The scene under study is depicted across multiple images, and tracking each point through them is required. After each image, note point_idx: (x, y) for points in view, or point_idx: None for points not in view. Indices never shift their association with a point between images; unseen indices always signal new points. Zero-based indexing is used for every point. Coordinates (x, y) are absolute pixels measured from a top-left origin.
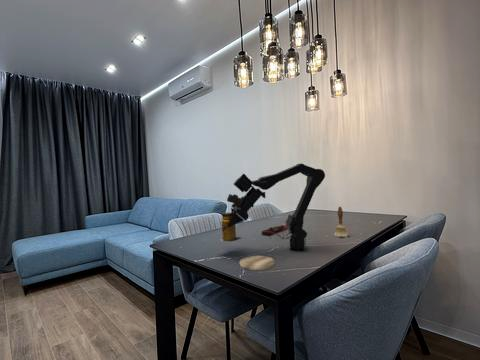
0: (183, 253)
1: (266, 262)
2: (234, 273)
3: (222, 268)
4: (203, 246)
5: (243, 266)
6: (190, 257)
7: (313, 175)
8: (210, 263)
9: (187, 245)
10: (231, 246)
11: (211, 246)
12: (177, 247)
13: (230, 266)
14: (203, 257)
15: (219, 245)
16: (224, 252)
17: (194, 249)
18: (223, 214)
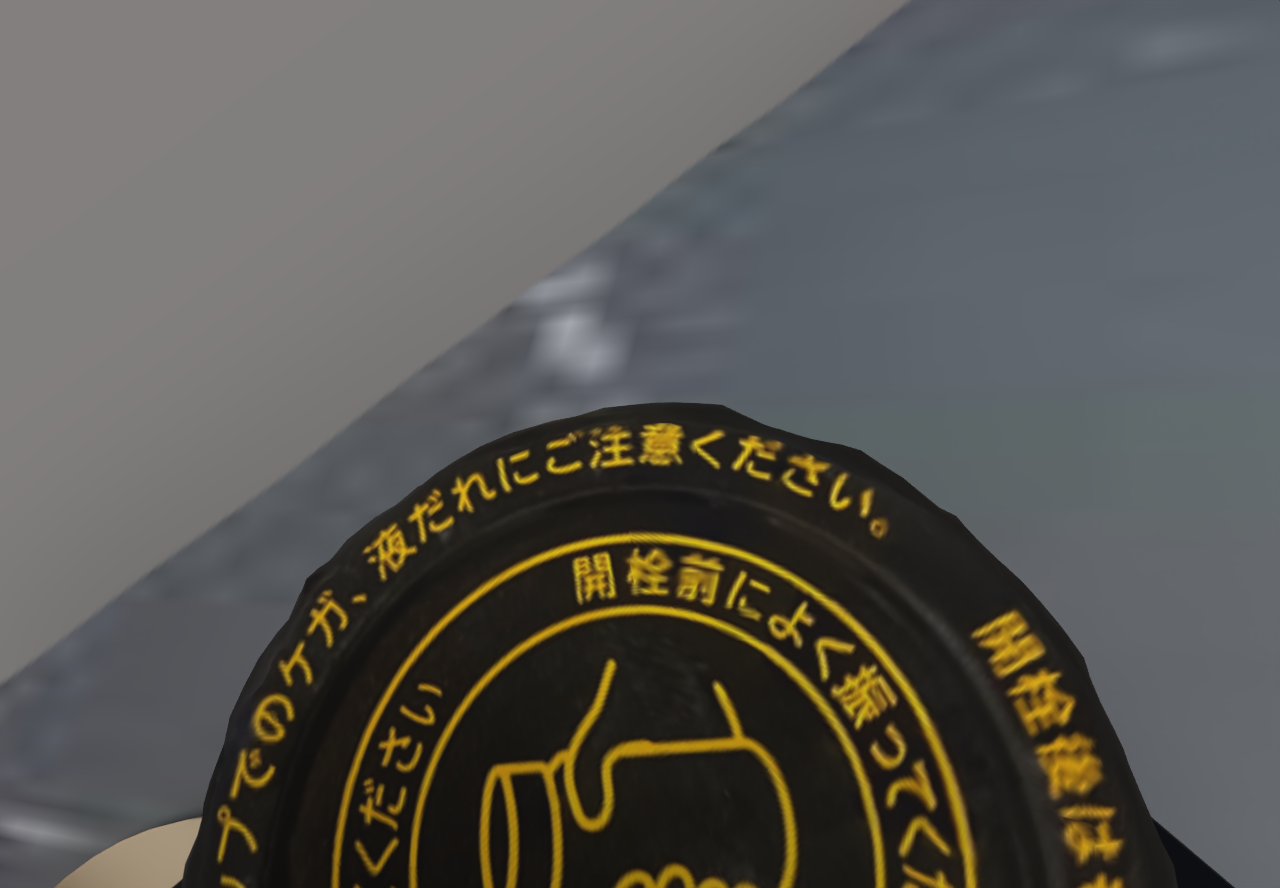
0: (870, 120)
1: None
2: (32, 712)
3: (222, 584)
4: (1196, 319)
5: (100, 854)
6: (696, 216)
7: None
8: (423, 449)
9: (1259, 103)
10: (1179, 793)
11: (1191, 438)
12: (1155, 9)
13: (244, 684)
14: (660, 357)
15: (1255, 570)
16: None
17: (1037, 217)
18: (437, 477)
